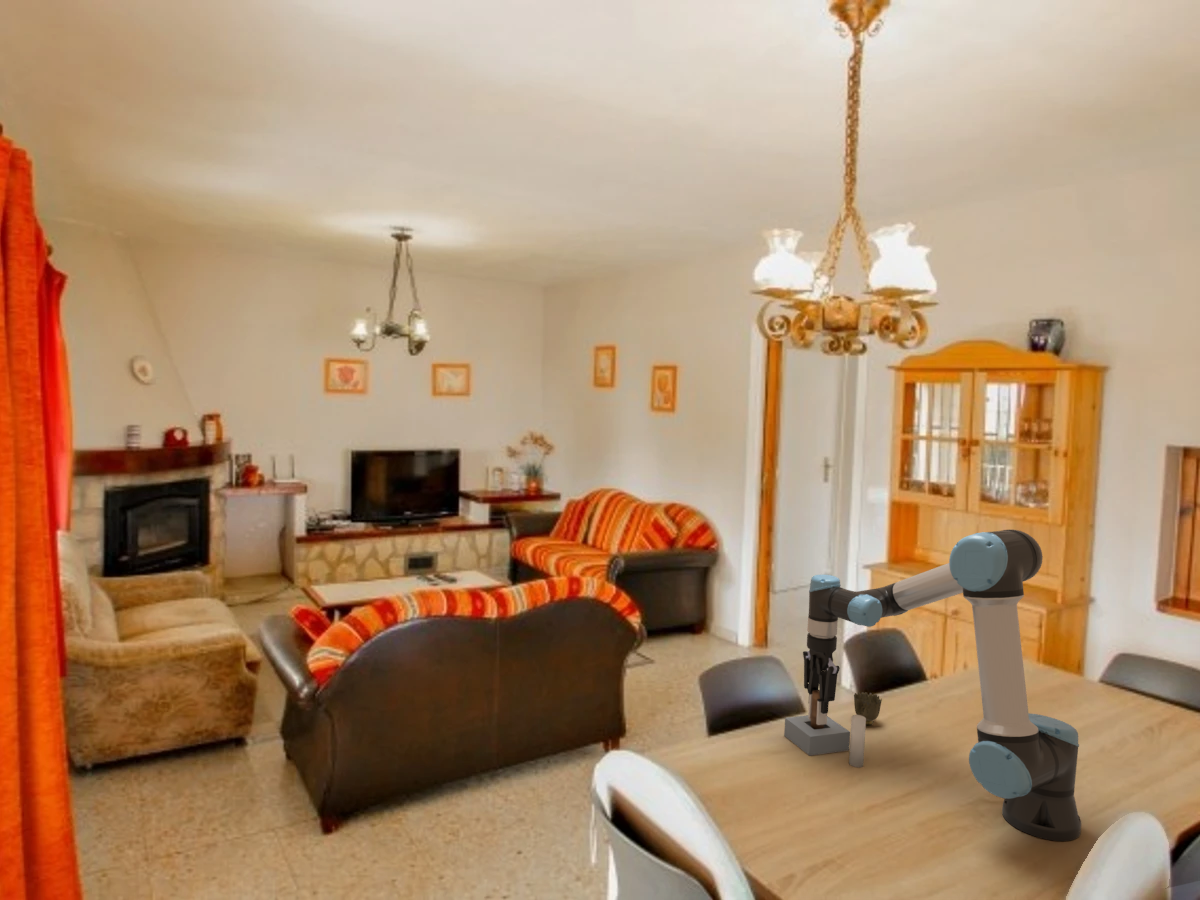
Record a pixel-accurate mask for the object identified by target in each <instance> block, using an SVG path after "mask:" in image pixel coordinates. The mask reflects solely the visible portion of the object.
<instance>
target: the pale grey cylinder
mask: <svg viewBox="0 0 1200 900" xmlns="http://www.w3.org/2000/svg"><path fill="white" fill-rule="evenodd" d="M866 727H867V726H866V718H865V717H864V716H861V715H856V714H852V716H851V722H850V745H849V755H848V756H849V757H848V758H849V759H848V764H849V766H851V767H854V768H862V767H864V756H865V755H864V754H865V743H866V742H865V739H866Z"/></svg>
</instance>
